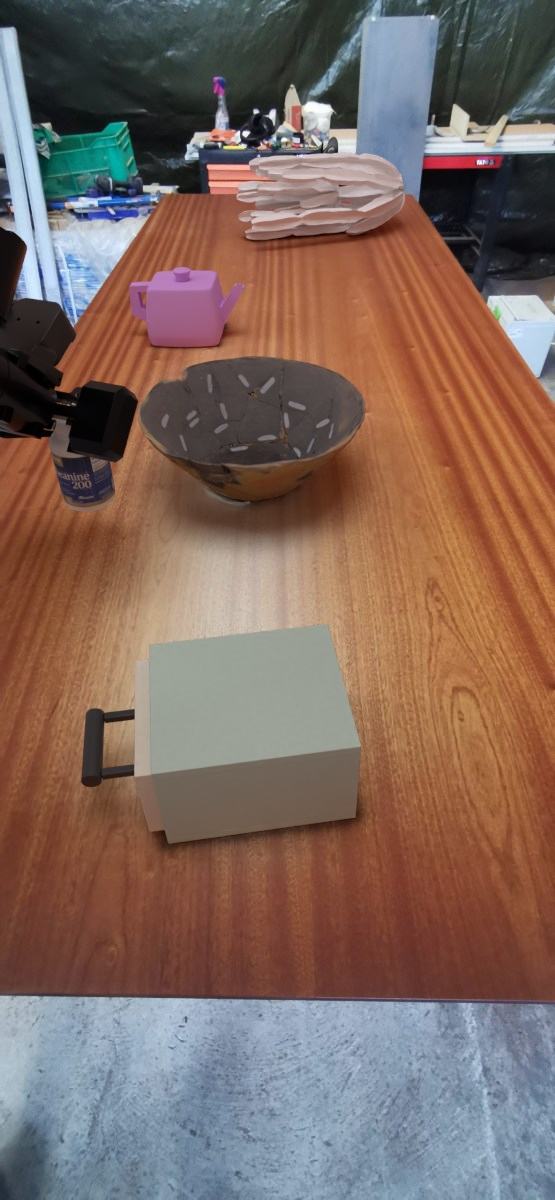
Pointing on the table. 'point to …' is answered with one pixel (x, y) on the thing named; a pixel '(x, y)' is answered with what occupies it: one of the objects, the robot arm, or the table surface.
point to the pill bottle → (80, 474)
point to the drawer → (142, 747)
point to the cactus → (320, 194)
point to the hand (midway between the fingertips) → (86, 436)
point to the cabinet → (251, 733)
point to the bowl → (252, 422)
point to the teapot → (183, 307)
